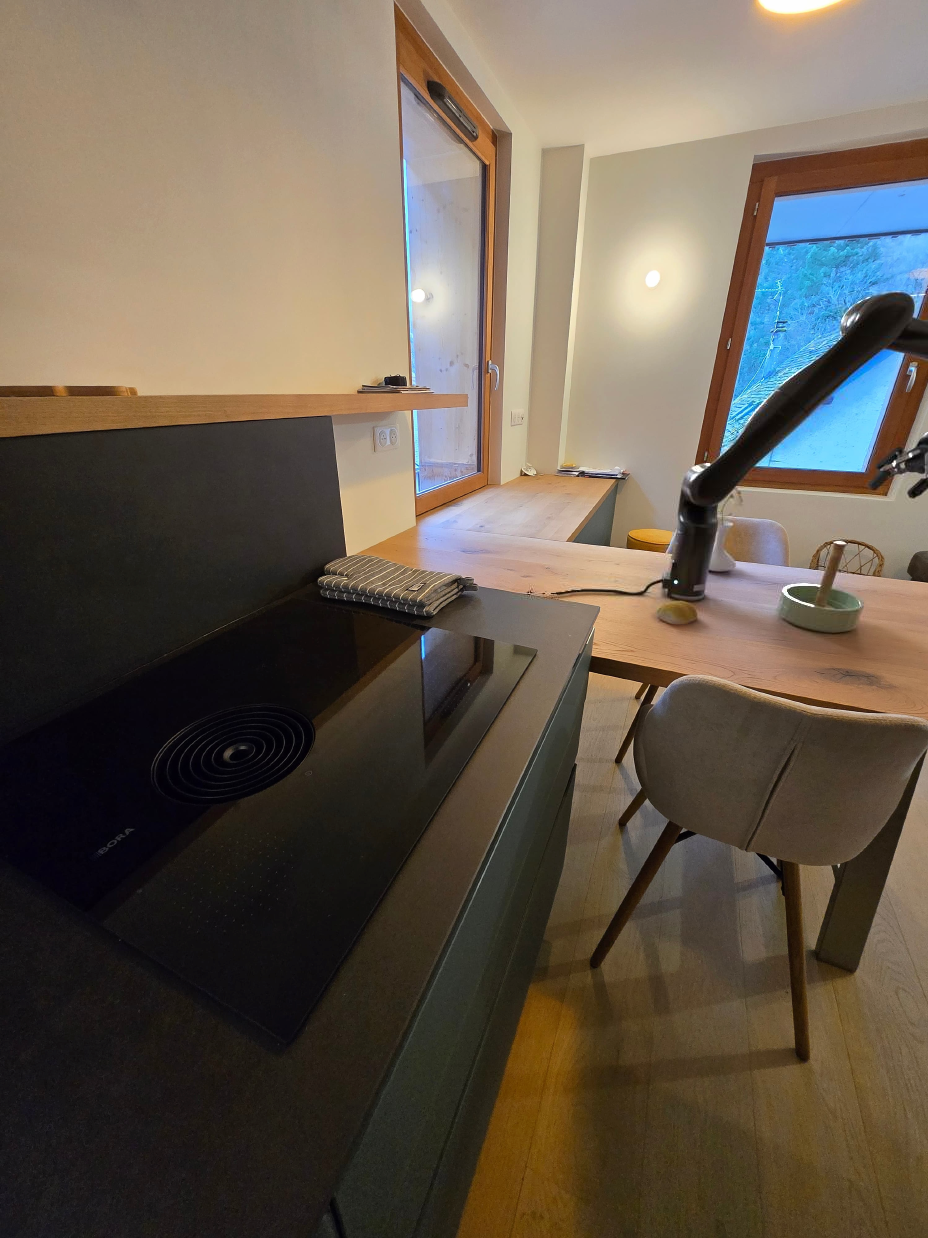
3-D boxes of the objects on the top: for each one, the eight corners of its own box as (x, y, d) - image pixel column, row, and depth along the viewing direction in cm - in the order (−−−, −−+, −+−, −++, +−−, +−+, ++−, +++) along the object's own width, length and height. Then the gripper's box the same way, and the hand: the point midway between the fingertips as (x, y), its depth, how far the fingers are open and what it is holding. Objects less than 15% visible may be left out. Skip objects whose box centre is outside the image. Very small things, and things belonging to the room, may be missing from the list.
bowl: (785, 630, 112) (792, 605, 109) (769, 603, 125) (775, 581, 122) (866, 639, 107) (876, 614, 105) (841, 610, 120) (849, 587, 118)
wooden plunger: (805, 620, 114) (828, 545, 106) (797, 610, 119) (820, 537, 111) (835, 623, 112) (861, 547, 104) (826, 612, 117) (851, 539, 110)
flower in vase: (737, 576, 142) (758, 488, 131) (694, 572, 146) (711, 486, 135) (731, 562, 153) (750, 480, 142) (692, 558, 157) (707, 478, 146)
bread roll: (702, 619, 117) (705, 603, 116) (678, 628, 113) (682, 612, 111) (672, 607, 124) (675, 592, 122) (649, 616, 119) (651, 600, 118)
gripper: (914, 416, 106) (853, 474, 109) (990, 421, 94) (918, 485, 97) (925, 441, 110) (865, 496, 113) (999, 449, 97) (929, 510, 100)
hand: (889, 491), depth 105 cm, fingers open, 8 cm apart
